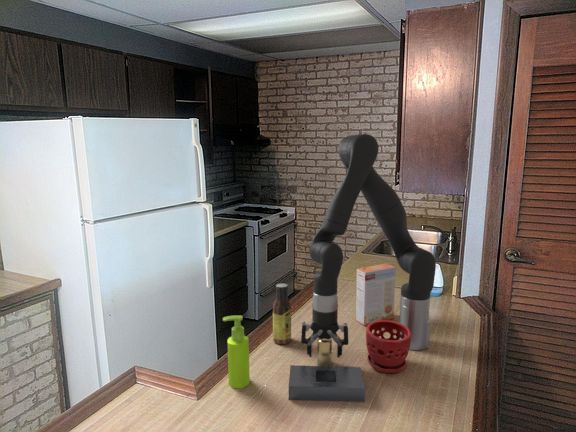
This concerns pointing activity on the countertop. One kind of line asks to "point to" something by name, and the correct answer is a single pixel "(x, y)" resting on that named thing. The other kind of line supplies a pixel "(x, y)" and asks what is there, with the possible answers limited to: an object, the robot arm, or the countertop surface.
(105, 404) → the countertop surface
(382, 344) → the plant pot
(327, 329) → the robot arm
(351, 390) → the jig
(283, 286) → the sauce bottle
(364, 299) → the cracker box
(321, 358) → the gold cylinder
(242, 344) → the soap dispenser
